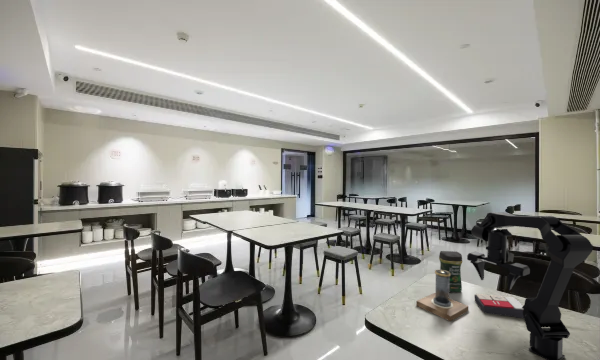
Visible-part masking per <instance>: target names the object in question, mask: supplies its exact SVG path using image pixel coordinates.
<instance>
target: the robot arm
mask: <svg viewBox="0 0 600 360" xmlns="http://www.w3.org/2000/svg"><path fill="white" fill-rule="evenodd" d="M512 227H519V228H520V227H521V228H533V229H534V228H535V229H537V230H538V231H539V232H540V237H541V239H542V240H543V241H544V242H545V243H546V244H547V245H548V246H547V252H548V253H547V254H549V257H550V262H549V264H548V267H547V270H546V272H545V274H544V277H543V280H542V283H541V285H540V287H539V289H538V293H537V295H536V297H527V298H525V300H524V303H523V304H524V305H523V307H522V308H523V316H524V319H523V320H524V322H525V327H526V330H527V331H528V332H530V333H529V348H528V351H529V352H531V353H534V354H536V355H537V356H539V357H541V358H543V359H545V360H563V359H565V358H566V355H564V354H563V349H564V348H563V347H564V346H563V342H564V341H563V340H564V339H569V337H570V335H571V333H570V331H569V329H568V328H567V326H566V325H565V324H564V323H563V321H562V312H561V308H560V307H559V305H560V302H561V300H562V298H563V295H564V293H565V291H566V289H567V286H568V284H569V282H570V279H571V277H572V274H573V272H574V269H575V268H576V267H577V266H578V265H580V264H581V263H583V262H584V261H586V260H587V258H589V256H590V255H591V254H592V252H593V249H594V245H593V243H591V241H590V240H589V239H588V238H587V237H586V236H584V235H583V234H581V233H580V232H579V231H578V230H576V229H575V228H573V227H571V226H569V225H568V224H566V223H564V222H562V221H561V220H560V219H559V218H558V217H555V216H552V215H539V216H536V215H534V216H532V215H515V214H513V213H508V212H487V213H486V215H485V216H484V218H483V220H481V221H477V222H475V225H473V226H472V228H471V230H470V232H471V235H472V236H473V237H475V238H476V239H479V240H482V241H484V242H487V246H486V247H485V250H487V252H486V253H487V255H485V254H484V253H482V252H480V251H479V252H478V251H472V252H469V253H468V254H467V255H466V257H467V258H466V259H467V261H470V263H471V264H472V265H473V267H474V268H475V270H476V272H477V274H478V276H479V278H480V281H484V280H485V264H486V263H487V264H491V265H494V266H498V267H500V268H501V267H502V268H505V269H506V270H507V269H508V271H509V272H508V273H507V290H509V291H511V290H512V289H513V287H514V285H515V284H516V281H517V279H519V278H520V277H525V276H527V275H530V273H531V269H530V267H529V266H528V265H526V264H522V263H519V262H515V263H513V262H514V257H515V254H514V253H512V252H509V248H508V247H507V245H508V243H507V242H508V237H512V236H513V234H512V233H511V232H510V230H508V228H512ZM553 231H554V232H553ZM556 233H557V234H556ZM509 262H510V263H509Z"/></svg>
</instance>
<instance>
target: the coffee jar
mask: <svg viewBox="0 0 600 360" xmlns="http://www.w3.org/2000/svg"><path fill="white" fill-rule="evenodd" d="M438 259H439V262H440V263H439V265H440V267H439V270H445V271H448V272H450V276H449V293H450V292H451V293H461V292H462V289H463V287H462V285H463V284H462V276H461V275H462V273H461V271H462V270H461V267H462V263H463V255H462V253H460V252H458V251H455V250H454V251H452V250H450V251H449V250H440V252H439V255H438Z"/></svg>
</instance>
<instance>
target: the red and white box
mask: <svg viewBox="0 0 600 360" xmlns="http://www.w3.org/2000/svg"><path fill="white" fill-rule="evenodd" d="M474 302H475V303H476V304H477V306H478V307H479V309H480V310H481V311H482V312H483V313H485V314H491V315H495V316H503V317H505V316H506V317H514V318H518V319H523V320H524V316H523V308H522V307H523V306H524V305H523V304H522V303H521V302H520V301H519V300H518V299H517V298H516V297H514V296H504V295H503V296H502V295H495V294H490V295H489V294H484V293H483V294H482V293H476V294H474Z"/></svg>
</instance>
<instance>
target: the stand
mask: <svg viewBox="0 0 600 360" xmlns="http://www.w3.org/2000/svg"><path fill="white" fill-rule="evenodd" d="M434 298H435V292H433V293H430V294H429V295H427V296H424V297H422V298H419V299H417V300H416V303H415V304H416V307H419V308H421V309H423V310H425V311H426V312H430V313H431V314H434V315H435V316H438V317H439V318H440V317H441V318H442V319H444V320H446V321H448V322H452V321H453V320H455V319H457V318H459V317H461V316H462V315H464V314H466V313H467V312H469V305H467V304H464V303H462V302H459V301H456V300H454V299H452V298H449V300H450V301H451V306H450V307H442V306H439V305H437V304H435V303H434V301H433V299H434Z"/></svg>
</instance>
